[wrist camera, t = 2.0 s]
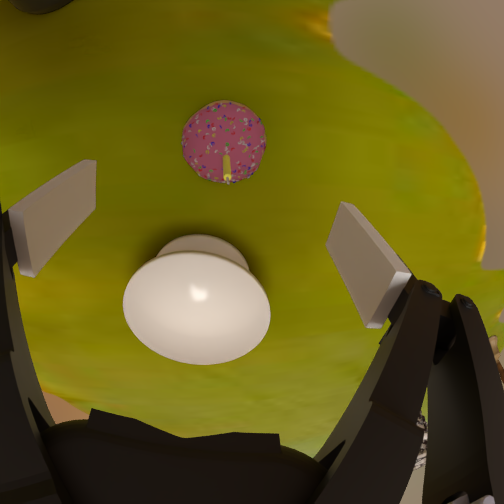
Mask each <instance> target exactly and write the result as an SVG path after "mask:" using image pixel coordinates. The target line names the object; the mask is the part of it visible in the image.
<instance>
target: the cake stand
mask: <svg viewBox="0 0 504 504" xmlns="http://www.w3.org/2000/svg"><path fill="white" fill-rule="evenodd" d="M123 309H124V315H125V318H126V321H127V323H128V325H129V327H130V328H131V330H132V331H133V333H134V334H135V335H136V336H137V338H138V339H139V340H140V341H141V342H143V343H144V344H145V345H146V346H147V347H149V348H150V349H152V350H153V351H155V352H157V353H158V354H160V355H162V356H165V357H167V358H170V359H172V360H176V361H179V362H184V363H189V364H199V365H208V364H218V363H223V362H227V361H231V360H234V359H236V358H239V357H241V356H243V355H245V354H246V353H248V352H249V351H251V350H252V349H253V348H255V347H256V346H257V345H258V344H259V343H260V341H261V340H262V339H263V337H264V336H265V334H266V332H267V330H268V327H269V323H270V307H269V301H268V297H267V294H266V292H265V290H264V288H263V286H262V285H261V283H260V282H259V281H258V279H257V278H256V277H255V276H254V275H253V274H252V273H251V272H250V271H249V267H248V264H247V262H246V260H245V258H244V257H243V255H242V254H241V253H240V251H239V250H238V249H237V248H235V247H234V246H233V245H232V244H230V243H229V242H227V241H225V240H223V239H221V238H218V237H215V236H211V235H206V234H191V235H185V236H181V237H178V238H176V239H174V240H172V241H170V242H169V243H167V244H166V245H165V246H164V247H163V248H162V249H161V250H160V251H159V253H158V254H157V256H156V257H155V258H153V259H151V260H149V261H148V262H146V263H144V264H143V265H142V266H141V267H140V268H138V270H137V271H136V272H135V273H134V274H133V276H132V277H131V279H130V281H129V283H128V285H127V288H126V290H125V293H124V298H123Z"/></svg>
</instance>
